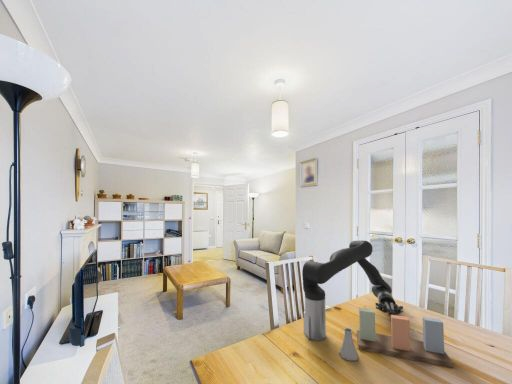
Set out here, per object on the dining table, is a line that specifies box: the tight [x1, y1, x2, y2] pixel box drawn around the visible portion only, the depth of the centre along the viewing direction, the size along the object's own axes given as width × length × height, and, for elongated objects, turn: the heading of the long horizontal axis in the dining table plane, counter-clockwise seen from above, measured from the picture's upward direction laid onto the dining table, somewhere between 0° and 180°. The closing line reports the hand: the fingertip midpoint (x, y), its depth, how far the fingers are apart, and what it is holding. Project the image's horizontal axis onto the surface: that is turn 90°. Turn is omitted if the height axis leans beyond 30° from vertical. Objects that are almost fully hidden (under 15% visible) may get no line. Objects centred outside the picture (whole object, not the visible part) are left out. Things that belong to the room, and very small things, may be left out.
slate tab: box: [422, 316, 445, 354], centre depth 94 cm, size 6×3×12 cm, turn 70°
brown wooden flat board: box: [356, 329, 454, 369], centre depth 98 cm, size 32×12×2 cm, turn 70°
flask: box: [338, 327, 359, 362], centre depth 94 cm, size 7×7×10 cm
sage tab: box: [358, 307, 376, 342], centre depth 102 cm, size 6×3×12 cm, turn 70°
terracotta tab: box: [390, 314, 411, 351], centre depth 96 cm, size 6×3×12 cm, turn 70°
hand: (392, 315), depth 110 cm, fingers closed
